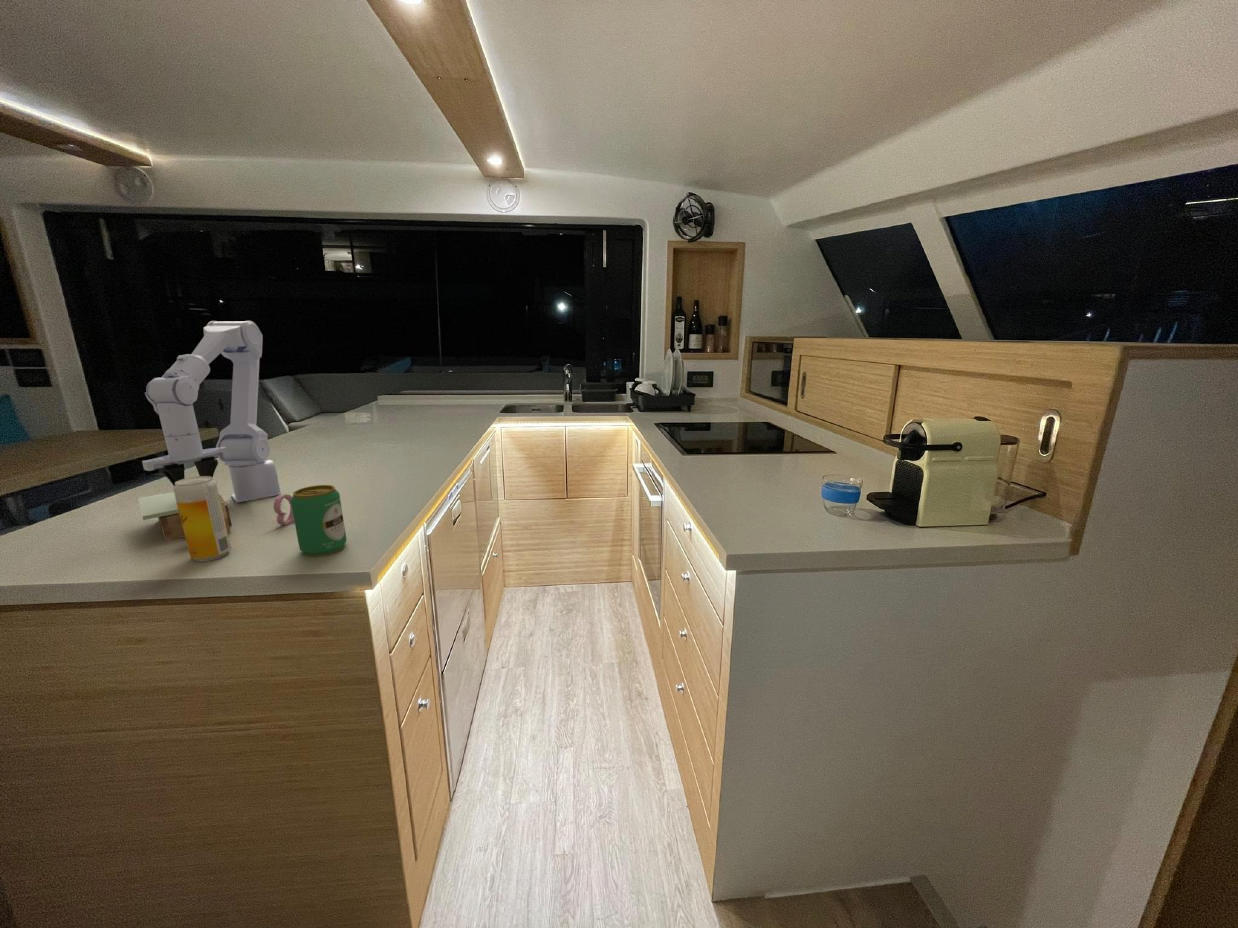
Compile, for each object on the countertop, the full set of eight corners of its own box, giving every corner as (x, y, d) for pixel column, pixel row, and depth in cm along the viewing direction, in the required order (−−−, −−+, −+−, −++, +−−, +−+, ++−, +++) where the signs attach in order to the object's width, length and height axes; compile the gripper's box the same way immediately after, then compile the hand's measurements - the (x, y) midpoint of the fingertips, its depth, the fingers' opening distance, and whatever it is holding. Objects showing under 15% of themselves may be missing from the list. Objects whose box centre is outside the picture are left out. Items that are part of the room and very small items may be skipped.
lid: (205, 489, 118) (202, 474, 117) (216, 505, 107) (213, 488, 106) (139, 501, 110) (134, 485, 109) (143, 520, 99) (138, 501, 98)
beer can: (206, 549, 98) (188, 476, 94) (239, 548, 98) (222, 475, 94) (182, 563, 92) (162, 485, 88) (217, 562, 92) (199, 484, 88)
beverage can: (327, 559, 93) (317, 498, 90) (290, 556, 95) (278, 495, 92) (356, 541, 101) (347, 485, 98) (321, 539, 102) (311, 483, 99)
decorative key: (336, 509, 128) (280, 527, 108) (331, 509, 128) (274, 527, 108) (334, 483, 127) (278, 496, 107) (330, 483, 127) (272, 496, 107)
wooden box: (220, 508, 120) (215, 489, 119) (232, 525, 110) (227, 505, 108) (159, 520, 113) (153, 500, 112) (165, 540, 102) (159, 518, 101)
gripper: (210, 426, 115) (223, 483, 118) (129, 438, 102) (145, 501, 106) (227, 429, 112) (239, 487, 115) (145, 441, 99) (162, 506, 103)
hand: (196, 494), depth 110 cm, fingers open, 4 cm apart
